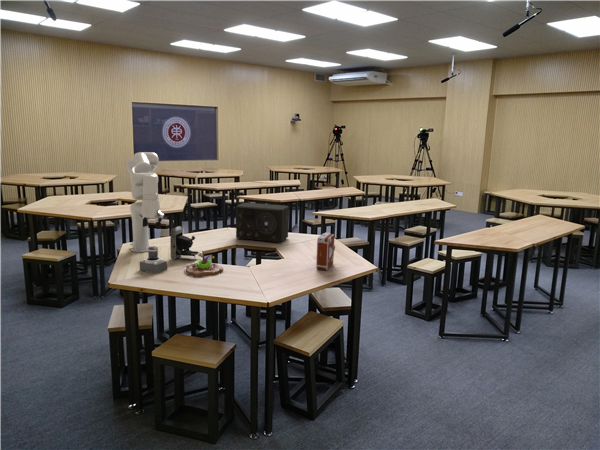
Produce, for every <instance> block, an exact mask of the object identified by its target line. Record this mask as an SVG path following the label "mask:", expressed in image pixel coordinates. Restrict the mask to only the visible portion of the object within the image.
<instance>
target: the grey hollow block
mask: <svg viewBox="0 0 600 450" xmlns="http://www.w3.org/2000/svg"><path fill="white" fill-rule="evenodd" d="M138 265H139V271H141V272H147V273H150V272H151V273H152V274H155V275H156V273H157V274H159V273H163V272H164V271H167V270H168V261H167V260H164V259H162V257H161V256H158V260H153V261H150V260H149V259H148V257H146V258H145V259H143V260H141V261H139V264H138ZM151 273H150V274H151Z"/></svg>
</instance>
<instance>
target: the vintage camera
mask: <svg viewBox="0 0 600 450" xmlns="http://www.w3.org/2000/svg"><path fill="white" fill-rule="evenodd" d="M183 228H184V227H183V226H181V225H178V226H176V227H172V228H171V230H170V245H169V247H170V255H169V256H170V259H171V260H176V259H178V258H179V257H181V256H182V257H183V256H185V257H194V258H196V256H198V254H200V253H201V252H199V251H197V250H195V251H193V250H191V248H192V246H193V244H194V241H195V239H196V236H194V235H192V236H191V238H190V237H188V236H186V235H184V234H183V232H184V229H183Z"/></svg>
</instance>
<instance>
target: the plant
mask: <svg viewBox="0 0 600 450" xmlns="http://www.w3.org/2000/svg"><path fill="white" fill-rule="evenodd" d="M197 256H198V257H200V258H202V259H199V260H197V261H195V262H194V263H191V264H189V265H187V266H186V267H185V273H186V274H187V275H188V276H192V277H195V278H200V277H201V278H202V277H209V276H216V275H219V274H222V273H224V267H223V266H221V265H219V264H218V263H213V262H211V261H212V260H211V259H209V258H210V257H211V258H212V259H215V256H214V255H212V254H210V255H207V257H205V255H204V253H203V252H200V253H198V254H197Z"/></svg>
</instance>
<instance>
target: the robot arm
mask: <svg viewBox="0 0 600 450" xmlns="http://www.w3.org/2000/svg"><path fill="white" fill-rule="evenodd" d="M159 162H160V159H159V156H158V154H157V153H155V152H152V151H151V152H150V151H149V152H148V151H144V152H142V151H139V152H136V153H134V155H133V156H132V158H131V157H130V158H128V159H127V160H126V162H125V165H126V166H125V168H126V171H127V172H128V175H129V177H130V188H131V189H130V190H131V197H132V199H133V200H135V201H136V202H133V203H131V204H130V207H129V210H130V215H131V221H132V223H131V224H132V225H131V226H132V241H131V243H129V245H130V246H131V248H130V249H131V252H134V253H144V252H145V253H146V252H148V247H151V245H150V243H149V222H148V219H154V220H155V229H156V230H159V229H162V225H161V224H162V221H163V220H164V216H165V214H164V213H163V212H161V208H160V207H161V205H160V201H159V192H158V190H159V189H158V183H159V176H158V174H157V173H155V172H154V171H156V170H157V167H158V166H159Z"/></svg>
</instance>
